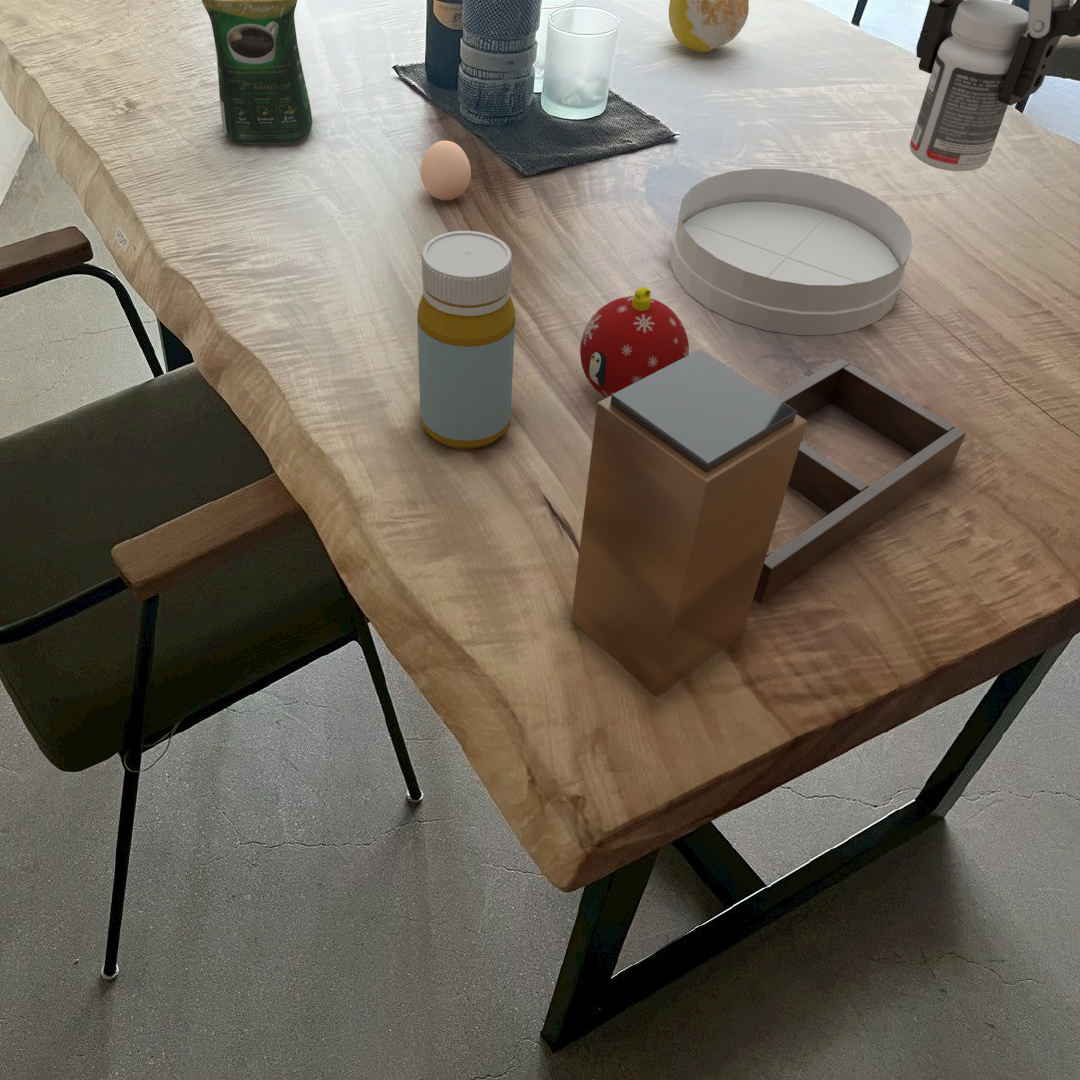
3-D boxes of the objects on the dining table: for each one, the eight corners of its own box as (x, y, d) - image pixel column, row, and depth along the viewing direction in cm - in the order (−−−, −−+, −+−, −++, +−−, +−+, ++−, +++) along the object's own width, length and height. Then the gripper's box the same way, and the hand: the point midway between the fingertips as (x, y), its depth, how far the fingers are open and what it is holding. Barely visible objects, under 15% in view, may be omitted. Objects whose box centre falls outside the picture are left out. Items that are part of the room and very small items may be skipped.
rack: (951, 467, 82) (966, 432, 79) (760, 605, 71) (771, 569, 68) (829, 391, 88) (840, 357, 85) (635, 507, 77) (641, 471, 74)
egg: (414, 189, 108) (412, 134, 104) (460, 183, 110) (460, 128, 106) (430, 213, 105) (429, 156, 101) (477, 205, 107) (478, 150, 103)
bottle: (412, 403, 84) (405, 232, 73) (496, 391, 85) (502, 222, 75) (432, 459, 79) (428, 286, 68) (521, 445, 81) (530, 274, 70)
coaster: (794, 419, 56) (797, 410, 55) (706, 473, 52) (708, 464, 52) (698, 357, 59) (700, 348, 59) (610, 403, 56) (611, 394, 55)
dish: (930, 260, 104) (946, 214, 101) (848, 365, 91) (864, 316, 87) (729, 192, 112) (738, 147, 108) (627, 279, 98) (633, 231, 95)
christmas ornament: (701, 403, 86) (723, 298, 79) (622, 441, 82) (638, 334, 75) (633, 352, 90) (648, 247, 83) (554, 385, 86) (563, 279, 79)
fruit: (648, 48, 139) (658, -34, 132) (693, 29, 145) (705, -51, 138) (711, 71, 135) (726, -12, 128) (755, 50, 141) (771, -31, 134)
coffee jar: (314, 117, 119) (296, -65, 106) (311, 148, 114) (292, -39, 100) (227, 116, 118) (197, -67, 105) (220, 148, 112) (188, -42, 99)
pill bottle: (1003, 165, 64) (1058, 19, 58) (947, 179, 62) (999, 31, 56) (946, 133, 66) (993, -8, 61) (891, 146, 65) (935, 2, 59)
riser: (742, 635, 69) (808, 420, 56) (657, 697, 65) (706, 482, 52) (655, 565, 73) (698, 350, 60) (570, 619, 69) (596, 402, 56)
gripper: (922, -303, 51) (833, 58, 63) (1212, -251, 44) (1048, 146, 56) (1005, -309, 55) (906, 34, 67) (1284, -262, 47) (1116, 113, 59)
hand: (971, 83), depth 61 cm, fingers closed on pill bottle, 4 cm apart
